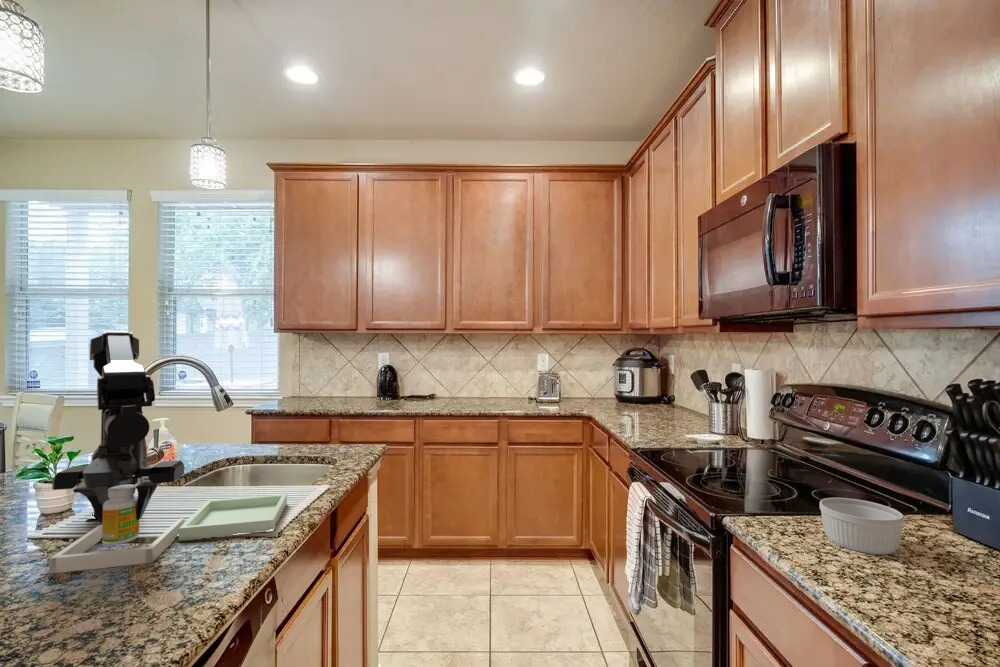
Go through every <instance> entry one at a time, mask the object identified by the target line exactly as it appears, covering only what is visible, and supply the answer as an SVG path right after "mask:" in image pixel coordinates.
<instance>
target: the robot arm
mask: <svg viewBox="0 0 1000 667" xmlns="http://www.w3.org/2000/svg"><path fill="white" fill-rule="evenodd" d="M101 333H102V334H101V335H100V336H99V335H98V336H96V337H94V338H92V339H90V342H89V344H90V345H89V361H93V366H92V367H93V368H94V371H96V373H97V374H98V375H99V376H97V379H96V380H97V381H96V382H97V383H96V394H97V395H96V397H97V410H98V411H101V412H100V414H101V416H100V417H101V418H100V421H101V422H100V444H99V445H98V446H97V448H96V449H95V451H94V452H93V453H92V455H91V460H90V463H88V464H87V465H73V466H71V467H68V468H65V469H63V470H61V471H58V472H57V473H56V474H55V475H54V476H53V478H52V481H51V482H52V483H51V485H52V486H51V488H52V490H53V491H56V490H57V491H58V490H59V491H60V490H70V489H71V490H72V489H73V490H72V491H73V493H74V494H77V493H78V494H81V495H82V496H84V497H86V499H87V500H88V502H89V503H90V505H91V507H92V508H93V513H94V515H93V513H91V514H92V516H94V517H95V518H98V519H97V520H98V521H99V523H100V524H102V515H103V504H104V503H105V502H106V501H107V500H109V497H108V489H109V488H111V487H114V486H118V485H126V484H133V485H135V490H137V497H138V500H137V510H136V515H137V520H139V521H140V520H141V519H142V518H143V515H144V514H145V511H146V509H147V508H148V505H149V502H150V500H151V498H152V496H153V494H154V493H155V491H156V490H157V487H158V486H160V484H165V483H173V482H175V481H176V480H178V479H179V478H181V477H183V475H185V464H184V462H183V461H182V460H168V461H165V460H164V461H160V462H158V463H156V464H154V465H153V466H149V467H147V466H146V467H143V466H145V459H142V458H143V457H142V456H143V445H145V444H146V437H147V436H148V434H149V432H150V422H149V420H148V419H147V417H146V416H144V415H143V410H142V409H143V407H144V408H145V407H146V408H147V407H152V406H153V402H155V401H156V394H155V384H154V381H153V379H152V377H151V376H150V374H147V373H146V369H145V367H144V365H142V364H139V363H137V362H135V360H138V359H139V356H140V339H138V337H135V336H133V335H134V334H133V332H130V331H128V330H127V331H119V330H116V331H115V330H110V331H109V330H107V331H105V332H101ZM139 479H141V481H142V482H141V483H140V484H138V482H139ZM136 484H138V485H136Z"/></svg>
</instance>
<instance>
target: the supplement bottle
mask: <svg viewBox="0 0 1000 667" xmlns="http://www.w3.org/2000/svg"><path fill="white" fill-rule="evenodd" d="M135 493H136V484H135V485H133V484H126V485H118V486H114V487H111V488H109V489H108V497H109V500H107V501H106V502H105V503H104V504H103V515H102V523H101V525H102V540H101V543H102V544H103V545H106V546H113V545H122V544H125V543H129V542H131V541H134V540H135V539H137V538H138V537H139V534H140V519H139V520H137V515H136V510H137V500H138V495H137V496H136V495H135Z"/></svg>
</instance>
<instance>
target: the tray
mask: <svg viewBox="0 0 1000 667" xmlns="http://www.w3.org/2000/svg"><path fill="white" fill-rule="evenodd" d="M287 505H288V494H287V493H285V494H274V495H273V494H272V495H271V494H270V495H261V496H259V495H258V496H247V497H246V496H245V497H235V498H234V497H233V498H222V499H210V500H206V501H205V502H204V503H203V504H202V505H201V506H200V507H199V508H198V509H196V510H195V512H194V513H193V514H192V515H191V516H190V517H189V518H188V519H187V520H186V521H185V522H184V524H183V525H182V526H181V527H180V528H179V536H178V542H183V541H184V542H185V541H194V540H195V539H196V540H203V539H202V538H206V539H212V538H211V537H217V538H226V537H225V536H227V537H232V536H231V535H233V534H237V533H244V532H255V531H266V530H270V529H273V528H274V526H275V525H276V523H277V522H278V523H279V521H280V519H281V517H282V515H283V514H284V512H285V510H286V507H287ZM278 520H279V521H278ZM278 523H277V524H278ZM276 526H277V525H276Z"/></svg>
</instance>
